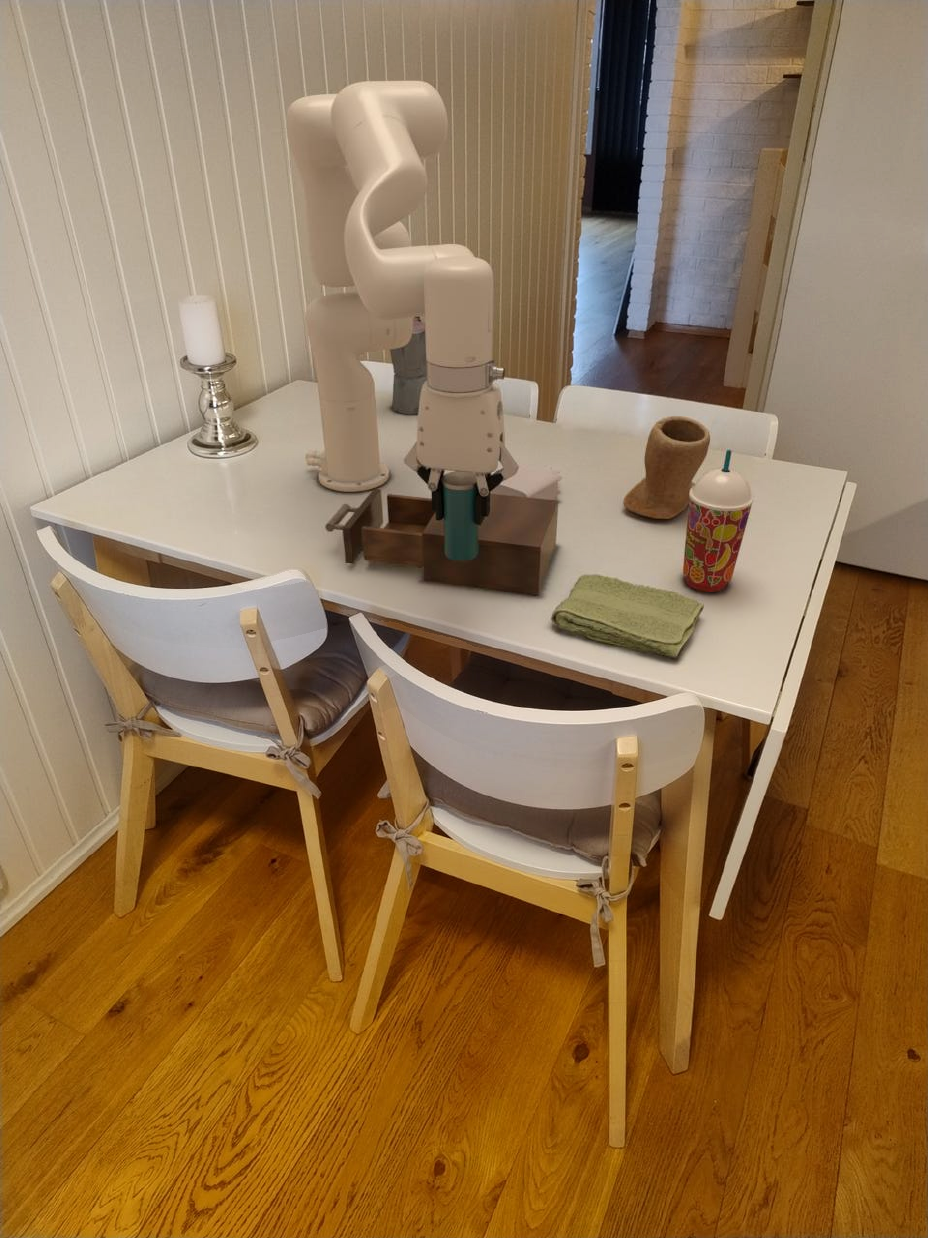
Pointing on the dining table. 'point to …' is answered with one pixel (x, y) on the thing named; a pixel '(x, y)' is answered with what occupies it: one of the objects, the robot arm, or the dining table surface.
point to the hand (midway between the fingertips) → (461, 516)
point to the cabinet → (499, 547)
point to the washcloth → (628, 614)
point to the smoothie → (715, 527)
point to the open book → (531, 483)
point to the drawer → (385, 529)
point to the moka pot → (410, 371)
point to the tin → (460, 515)
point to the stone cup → (669, 467)
